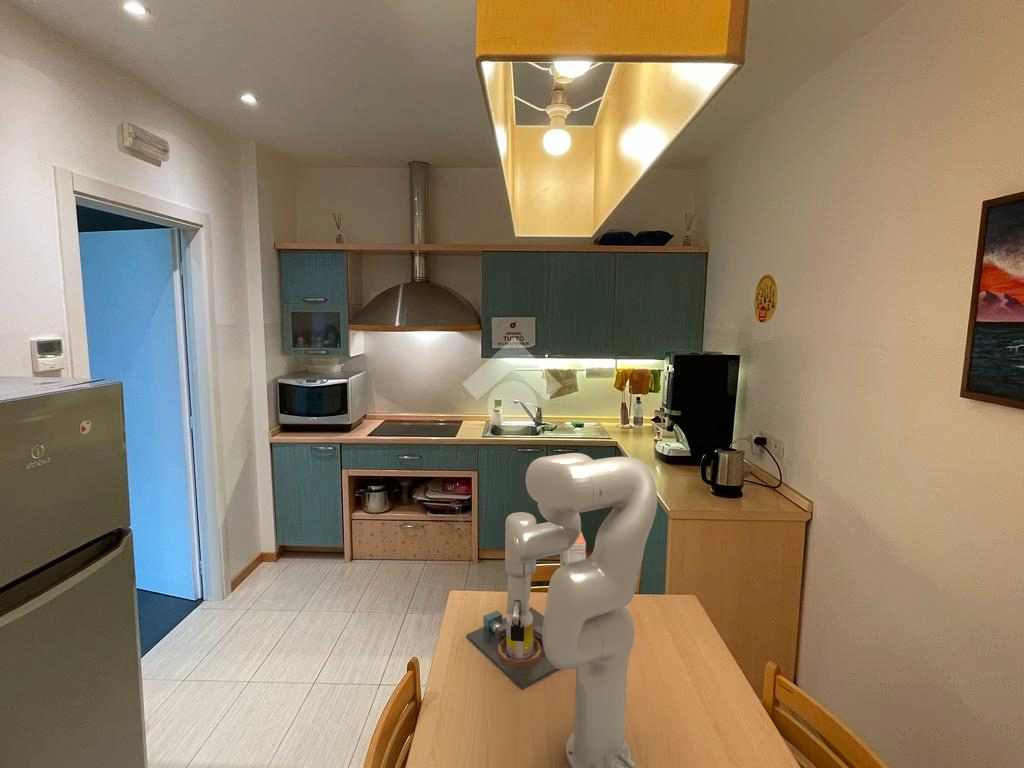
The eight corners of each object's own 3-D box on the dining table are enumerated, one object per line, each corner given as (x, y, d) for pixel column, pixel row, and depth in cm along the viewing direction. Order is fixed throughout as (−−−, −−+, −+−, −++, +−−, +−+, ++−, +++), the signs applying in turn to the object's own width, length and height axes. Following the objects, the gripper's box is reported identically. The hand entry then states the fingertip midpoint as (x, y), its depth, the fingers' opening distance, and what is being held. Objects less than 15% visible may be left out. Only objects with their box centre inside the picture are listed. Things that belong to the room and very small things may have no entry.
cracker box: (558, 586, 166) (559, 522, 163) (577, 585, 166) (579, 522, 163) (564, 611, 152) (566, 542, 149) (585, 610, 152) (587, 542, 150)
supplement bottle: (533, 645, 135) (534, 598, 133) (532, 662, 129) (532, 612, 127) (507, 643, 136) (508, 596, 134) (504, 660, 129) (505, 611, 127)
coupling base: (590, 653, 133) (591, 635, 133) (521, 690, 120) (522, 670, 120) (531, 610, 153) (531, 594, 152) (466, 637, 139) (466, 620, 139)
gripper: (510, 547, 138) (510, 608, 140) (499, 580, 121) (499, 648, 123) (539, 549, 137) (538, 610, 139) (532, 582, 120) (531, 651, 122)
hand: (520, 628), depth 131 cm, fingers open, 9 cm apart
